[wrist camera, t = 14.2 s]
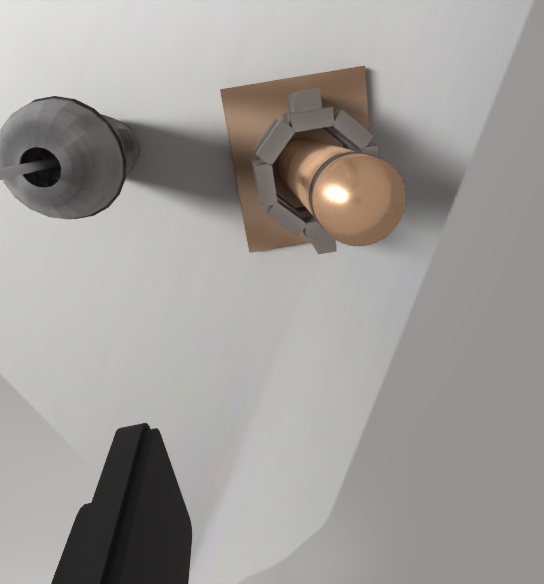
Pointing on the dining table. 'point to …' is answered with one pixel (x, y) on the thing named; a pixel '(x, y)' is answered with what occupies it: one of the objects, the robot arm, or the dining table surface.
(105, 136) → the beverage cup
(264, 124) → the collar stand
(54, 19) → the dining table surface
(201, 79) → the dining table surface
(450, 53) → the dining table surface
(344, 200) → the copper tube
